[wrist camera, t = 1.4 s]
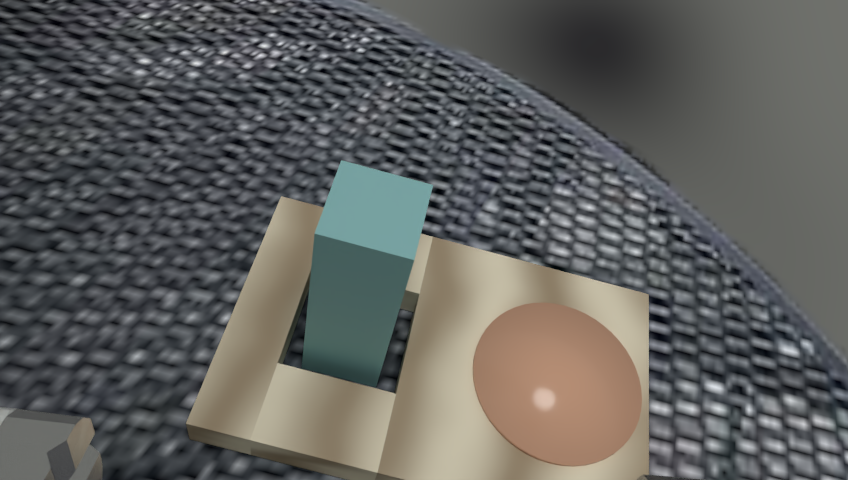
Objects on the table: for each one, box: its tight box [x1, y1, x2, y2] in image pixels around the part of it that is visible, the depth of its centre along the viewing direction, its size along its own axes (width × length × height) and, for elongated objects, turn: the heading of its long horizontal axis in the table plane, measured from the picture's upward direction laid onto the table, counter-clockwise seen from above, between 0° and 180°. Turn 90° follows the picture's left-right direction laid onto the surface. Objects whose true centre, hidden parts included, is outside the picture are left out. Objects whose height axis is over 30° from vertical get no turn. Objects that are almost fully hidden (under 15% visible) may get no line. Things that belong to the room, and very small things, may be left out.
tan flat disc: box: [473, 303, 642, 467], centre depth 37 cm, size 9×9×1 cm
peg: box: [302, 160, 433, 387], centre depth 34 cm, size 4×4×12 cm
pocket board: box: [186, 196, 649, 480], centre depth 38 cm, size 22×14×2 cm, turn 78°
